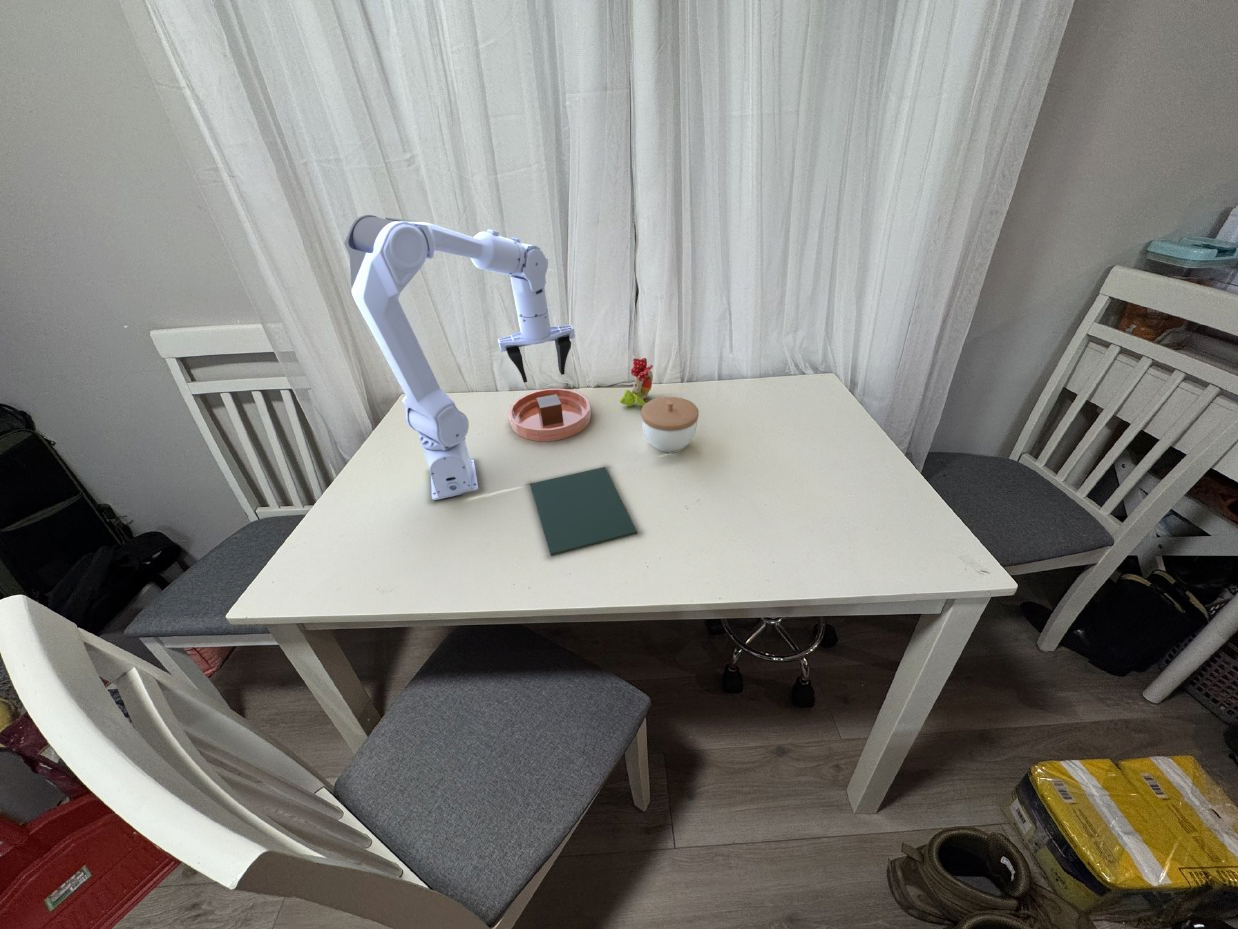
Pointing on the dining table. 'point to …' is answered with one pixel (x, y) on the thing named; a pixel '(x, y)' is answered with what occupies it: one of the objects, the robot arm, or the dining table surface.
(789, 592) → the dining table surface
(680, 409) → the trinket box
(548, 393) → the round pink tray
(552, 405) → the block
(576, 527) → the mat
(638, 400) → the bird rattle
